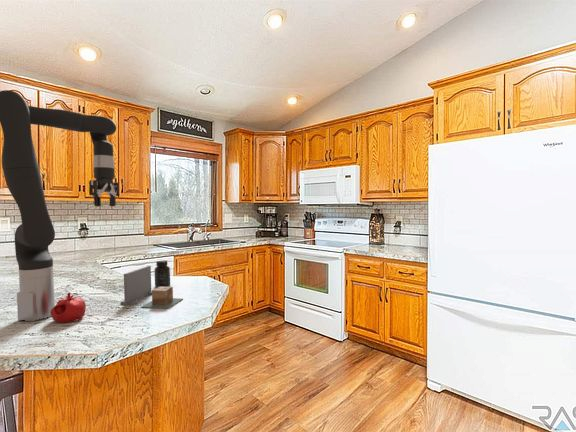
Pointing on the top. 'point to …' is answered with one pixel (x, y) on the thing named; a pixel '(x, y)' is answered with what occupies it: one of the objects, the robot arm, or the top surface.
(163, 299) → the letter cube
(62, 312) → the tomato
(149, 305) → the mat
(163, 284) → the supplement bottle
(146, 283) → the screen
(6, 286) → the top surface
